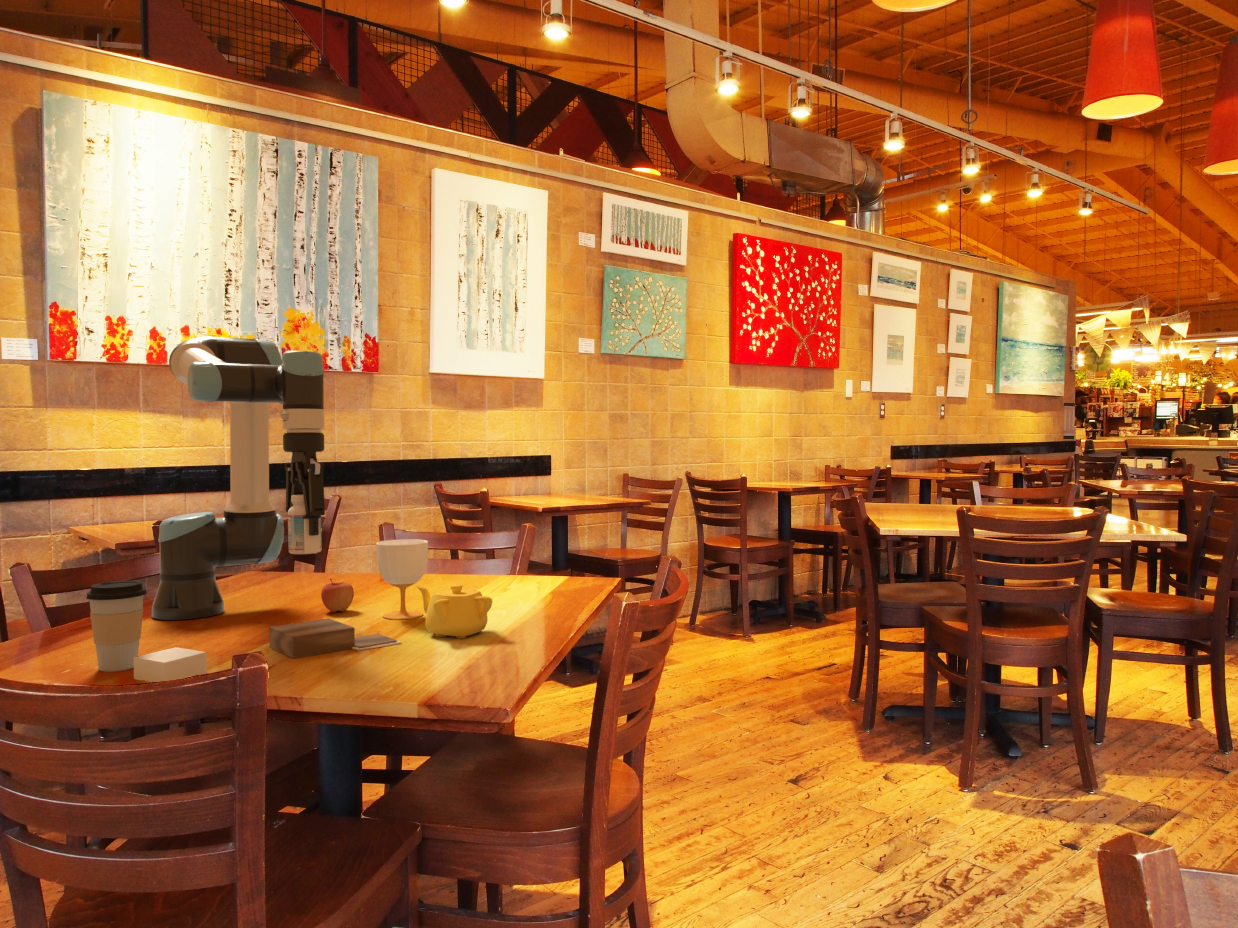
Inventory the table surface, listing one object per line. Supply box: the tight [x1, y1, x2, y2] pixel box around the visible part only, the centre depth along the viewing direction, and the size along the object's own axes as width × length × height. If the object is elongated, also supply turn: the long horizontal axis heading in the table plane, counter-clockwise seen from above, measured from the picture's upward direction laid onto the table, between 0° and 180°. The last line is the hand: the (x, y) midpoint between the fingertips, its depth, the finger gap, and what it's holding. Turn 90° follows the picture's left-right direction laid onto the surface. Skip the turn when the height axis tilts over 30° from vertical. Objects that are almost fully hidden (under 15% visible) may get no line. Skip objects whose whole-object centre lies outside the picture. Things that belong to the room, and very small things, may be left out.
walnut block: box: [269, 618, 356, 659], centre depth 171 cm, size 12×12×4 cm
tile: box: [352, 633, 402, 652], centre depth 174 cm, size 9×9×1 cm
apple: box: [320, 578, 355, 614], centre depth 206 cm, size 7×7×8 cm
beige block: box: [133, 646, 208, 683], centre depth 150 cm, size 8×8×4 cm
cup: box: [375, 538, 429, 621], centre depth 201 cm, size 12×12×17 cm
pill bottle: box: [287, 495, 323, 555], centre depth 169 cm, size 6×6×11 cm
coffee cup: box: [85, 580, 148, 673], centre depth 156 cm, size 9×9×15 cm
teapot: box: [415, 584, 493, 639], centre depth 182 cm, size 14×13×10 cm
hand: (305, 550), depth 170 cm, fingers closed on pill bottle, 6 cm apart
